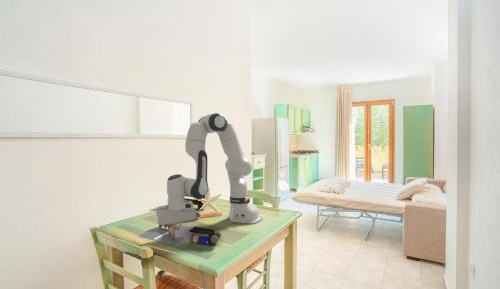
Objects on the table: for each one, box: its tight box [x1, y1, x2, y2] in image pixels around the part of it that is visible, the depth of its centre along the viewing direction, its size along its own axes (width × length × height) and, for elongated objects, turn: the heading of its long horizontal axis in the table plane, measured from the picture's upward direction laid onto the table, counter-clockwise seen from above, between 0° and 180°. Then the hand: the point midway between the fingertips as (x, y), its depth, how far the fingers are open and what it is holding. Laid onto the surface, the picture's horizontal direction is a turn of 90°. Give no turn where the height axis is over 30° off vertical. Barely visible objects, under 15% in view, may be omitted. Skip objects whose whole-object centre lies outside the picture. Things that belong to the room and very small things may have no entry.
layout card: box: [138, 223, 194, 247], centre depth 140 cm, size 28×22×1 cm
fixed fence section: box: [158, 224, 176, 230], centre depth 147 cm, size 12×2×7 cm, turn 62°
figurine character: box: [189, 226, 222, 246], centre depth 127 cm, size 7×8×15 cm
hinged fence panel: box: [171, 223, 175, 239], centre depth 137 cm, size 13×2×6 cm, turn 15°
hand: (177, 230), depth 136 cm, fingers closed
